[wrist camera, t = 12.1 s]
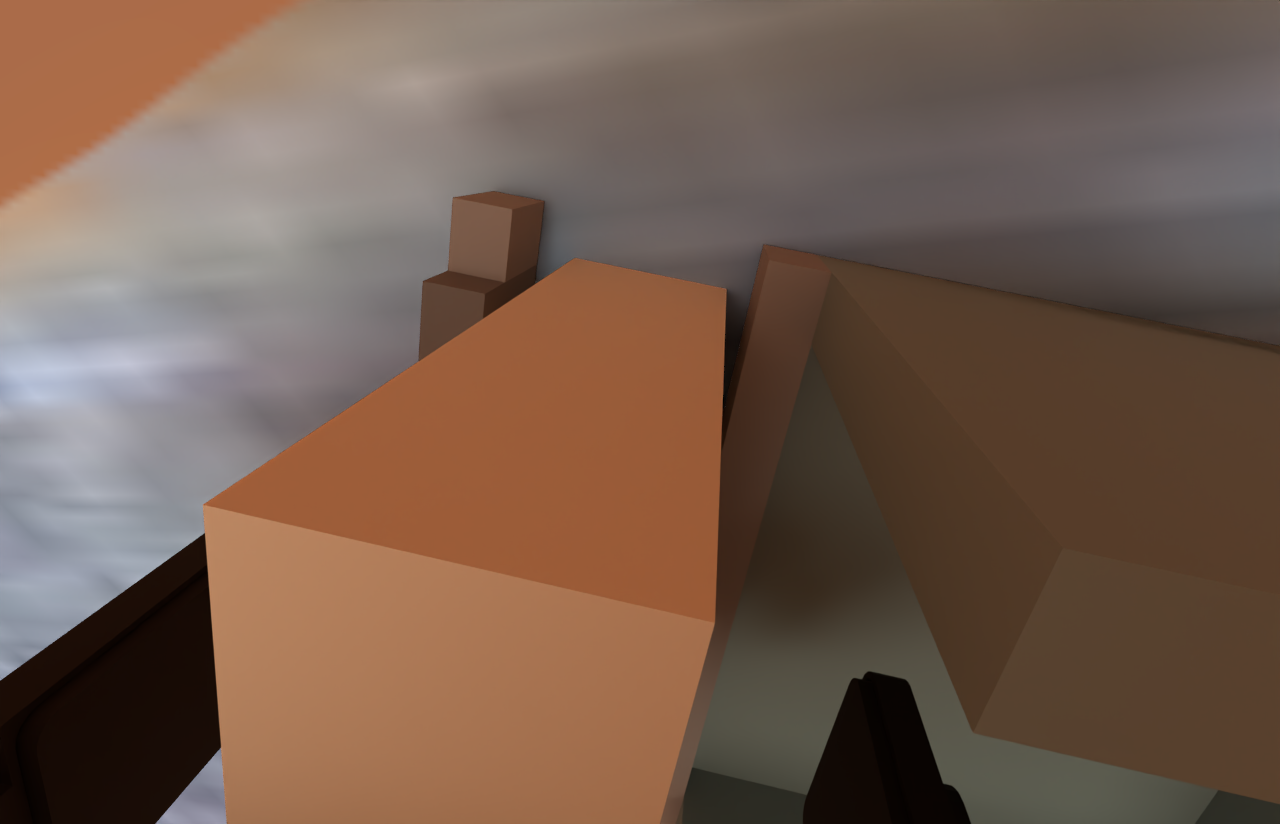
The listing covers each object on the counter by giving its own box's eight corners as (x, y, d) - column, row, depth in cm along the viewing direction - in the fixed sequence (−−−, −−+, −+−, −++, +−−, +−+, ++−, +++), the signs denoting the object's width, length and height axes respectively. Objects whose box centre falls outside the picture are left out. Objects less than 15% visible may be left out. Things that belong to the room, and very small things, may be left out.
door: (726, 288, 13) (714, 622, 4) (628, 713, 17) (507, 1377, 8) (525, 247, 13) (41, 468, 4) (476, 677, 17) (183, 1280, 8)
